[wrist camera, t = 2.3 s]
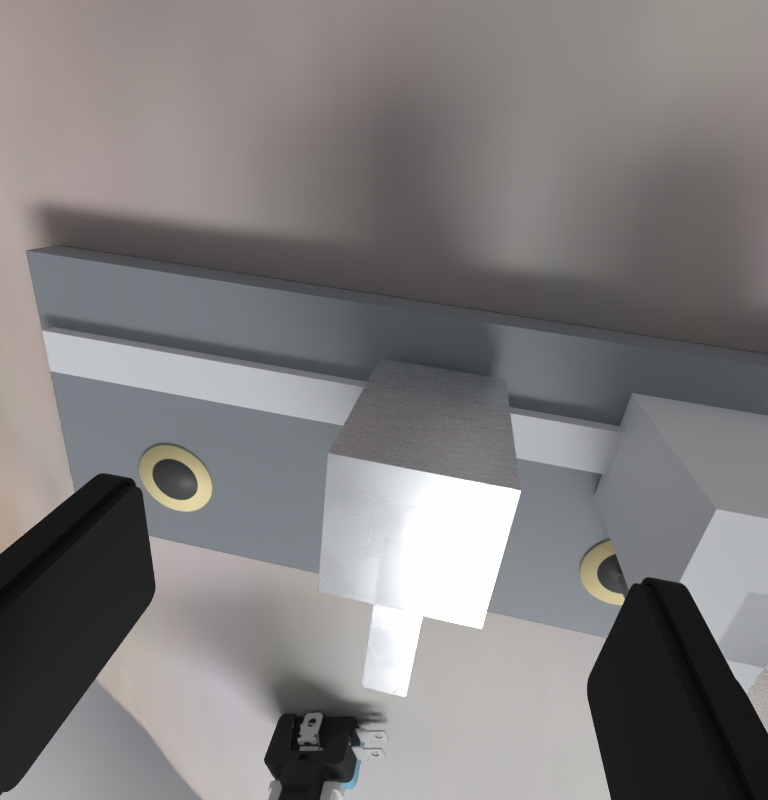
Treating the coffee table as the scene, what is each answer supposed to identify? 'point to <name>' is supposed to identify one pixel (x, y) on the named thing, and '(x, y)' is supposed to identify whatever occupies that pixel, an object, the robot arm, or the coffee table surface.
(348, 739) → the push button
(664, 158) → the coffee table surface
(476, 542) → the sliding block
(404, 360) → the plate
